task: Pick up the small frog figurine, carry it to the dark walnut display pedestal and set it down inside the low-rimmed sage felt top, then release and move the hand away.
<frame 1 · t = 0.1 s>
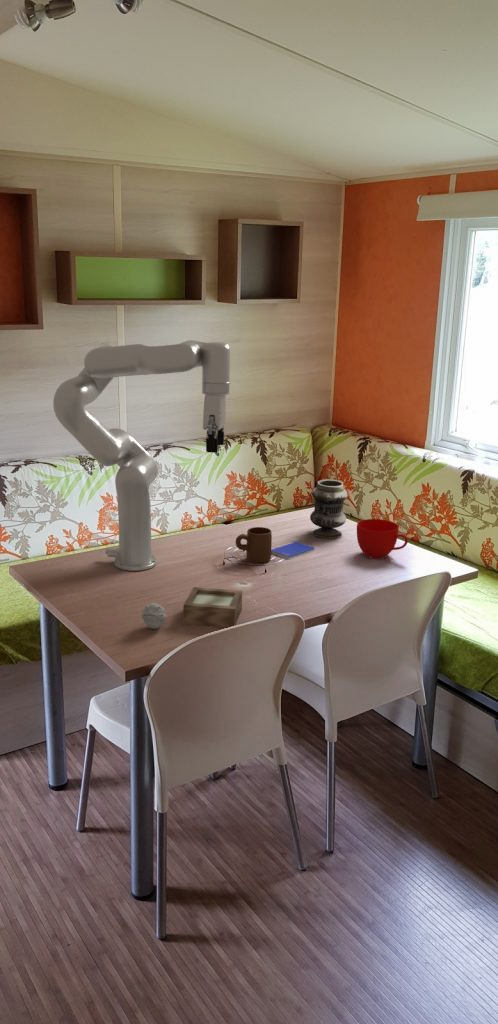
hand: (215, 448, 239), 37 cm above the table, tool pointing down, fingers open, 9 cm apart
ceramic cup: (381, 557, 264), on the table
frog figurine: (154, 629, 210), on the table
mug: (252, 561, 257), on the table
hard drive: (291, 553, 267), on the table
pedestal: (213, 616, 217), on the table
apothecary jar: (327, 534, 284), on the table
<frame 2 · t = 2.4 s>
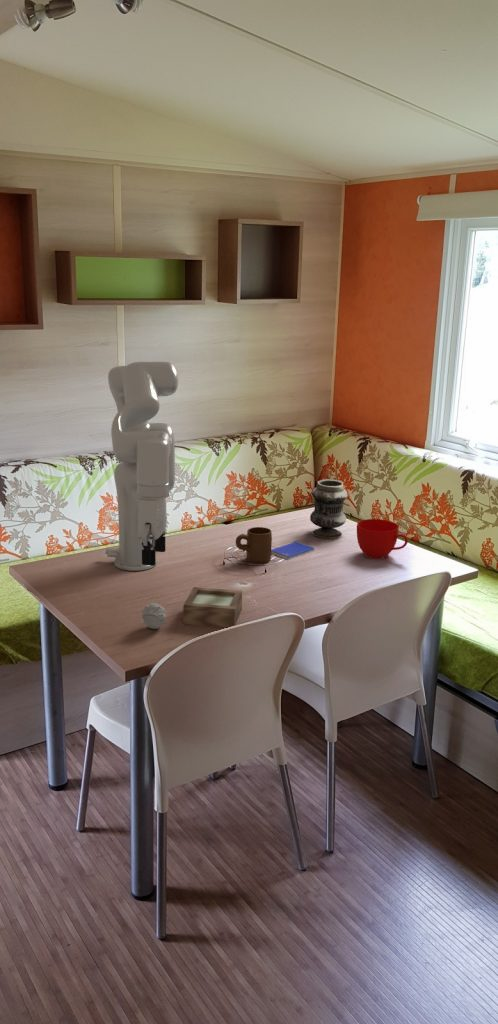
hand: (154, 558, 204), 19 cm above the table, tool pointing down, fingers open, 9 cm apart
nothing on the table moved.
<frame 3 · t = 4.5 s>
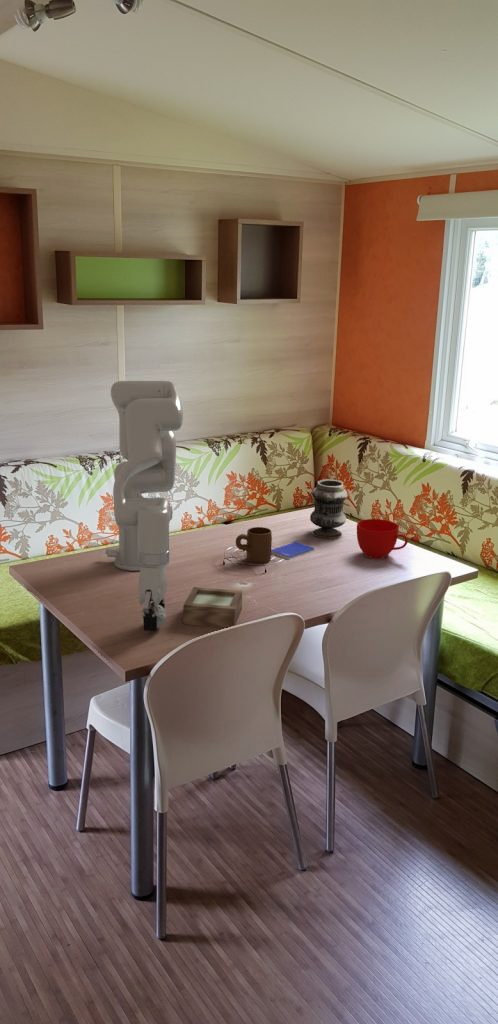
hand: (154, 623, 209), 1 cm above the table, tool pointing down, fingers closed on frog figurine, 7 cm apart
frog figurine: (154, 629, 210), on the table, touching gripper
everything else where it was.
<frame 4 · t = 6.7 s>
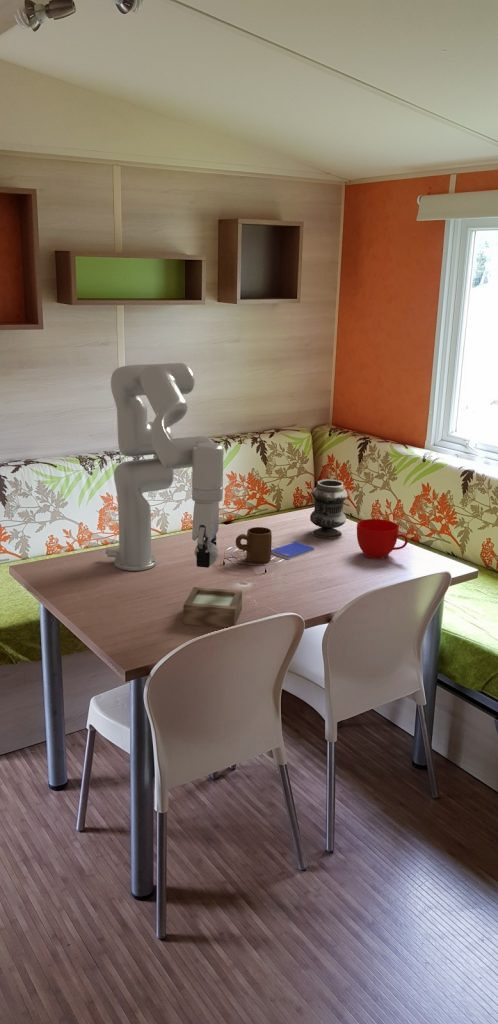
hand: (206, 560, 212), 16 cm above the table, tool pointing down, fingers closed on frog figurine, 7 cm apart
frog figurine: (206, 566, 212), point 14 cm above the table, touching gripper
everything else where it was.
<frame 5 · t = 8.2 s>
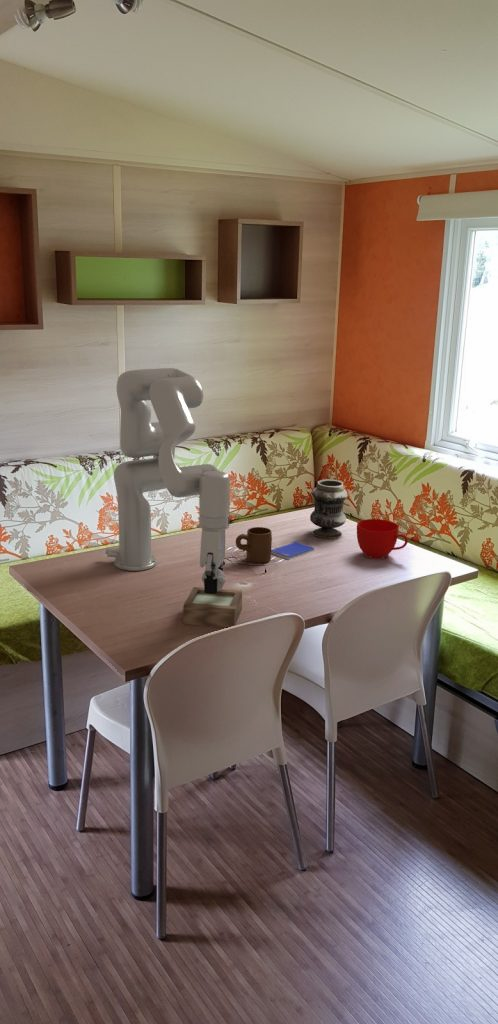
hand: (213, 586, 215), 8 cm above the table, tool pointing down, fingers closed on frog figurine, 7 cm apart
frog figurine: (213, 592, 215), point 7 cm above the table, touching gripper
everything else where it was.
when the fingers open (7 cm above the table, at t = 9.1 s): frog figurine drops 1 cm, resting on pedestal.
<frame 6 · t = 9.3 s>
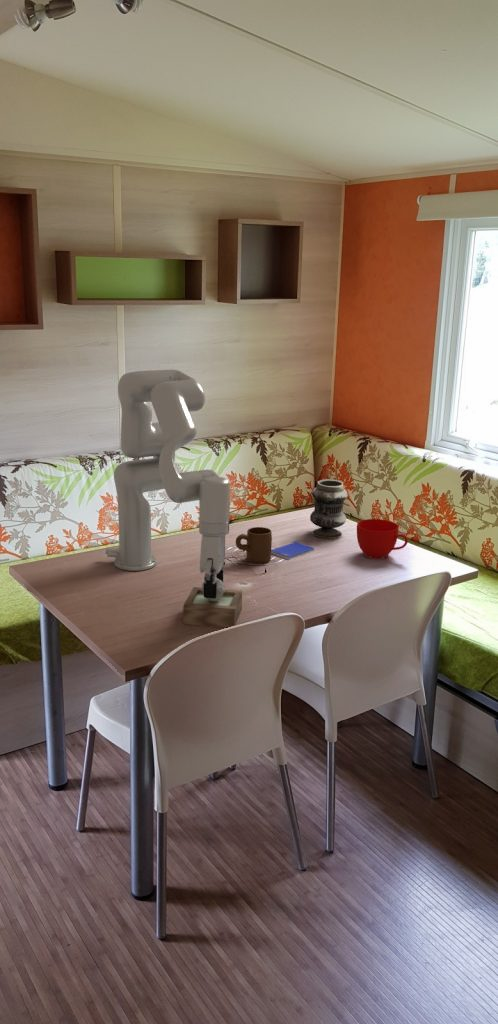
hand: (213, 590, 215), 7 cm above the table, tool pointing down, fingers open, 9 cm apart
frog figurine: (213, 602, 216), point 4 cm above the table, touching pedestal
everything else where it was.
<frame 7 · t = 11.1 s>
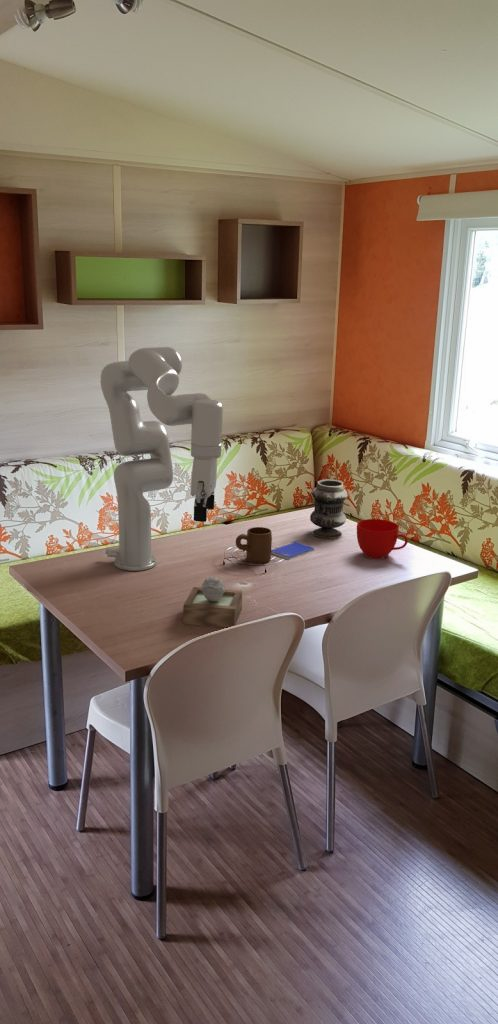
hand: (204, 514, 215), 26 cm above the table, tool pointing down, fingers open, 9 cm apart
nothing on the table moved.
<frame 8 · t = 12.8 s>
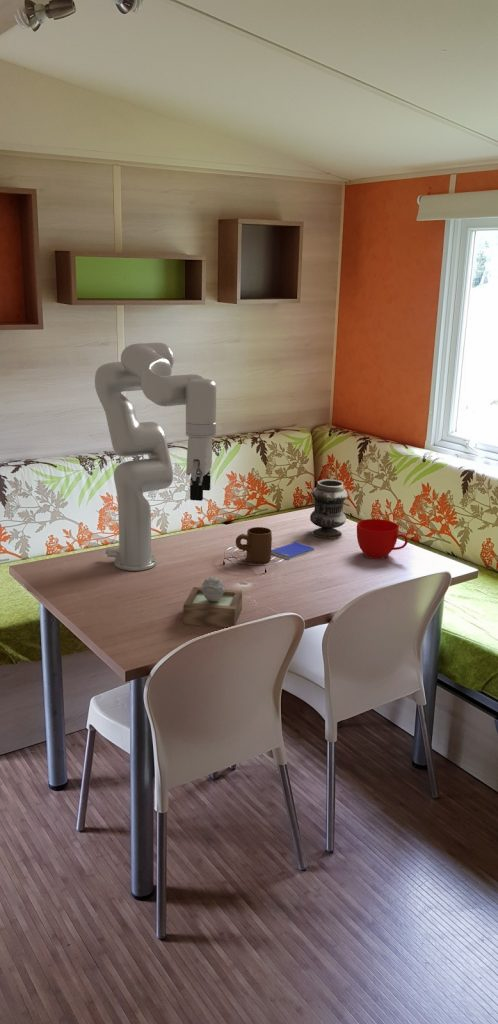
hand: (200, 494, 216), 30 cm above the table, tool pointing down, fingers open, 9 cm apart
nothing on the table moved.
at the end: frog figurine inside the target area on the pedestal (0.2 cm from its centre), point 4.0 cm above the pedestal's base; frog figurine tilted 0°; the gripper is holding nothing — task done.
